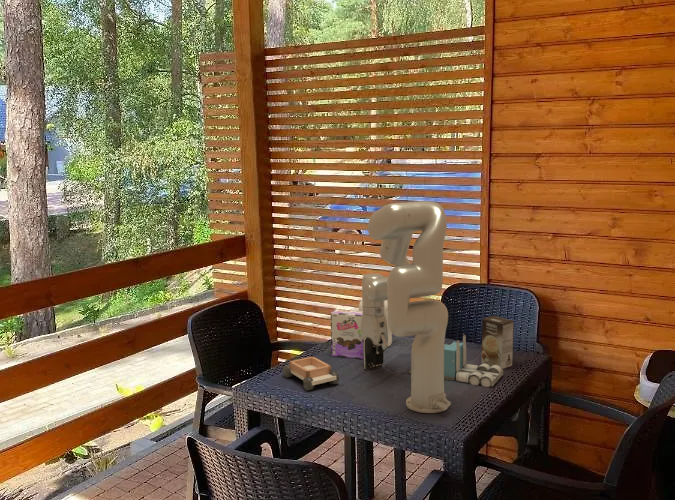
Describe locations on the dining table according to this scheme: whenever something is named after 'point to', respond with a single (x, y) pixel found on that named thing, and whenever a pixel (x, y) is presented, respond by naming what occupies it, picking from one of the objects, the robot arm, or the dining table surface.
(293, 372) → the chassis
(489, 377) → the truck
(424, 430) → the dining table surface
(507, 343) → the coffee box
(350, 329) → the candy box
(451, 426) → the dining table surface
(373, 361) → the battery charger
